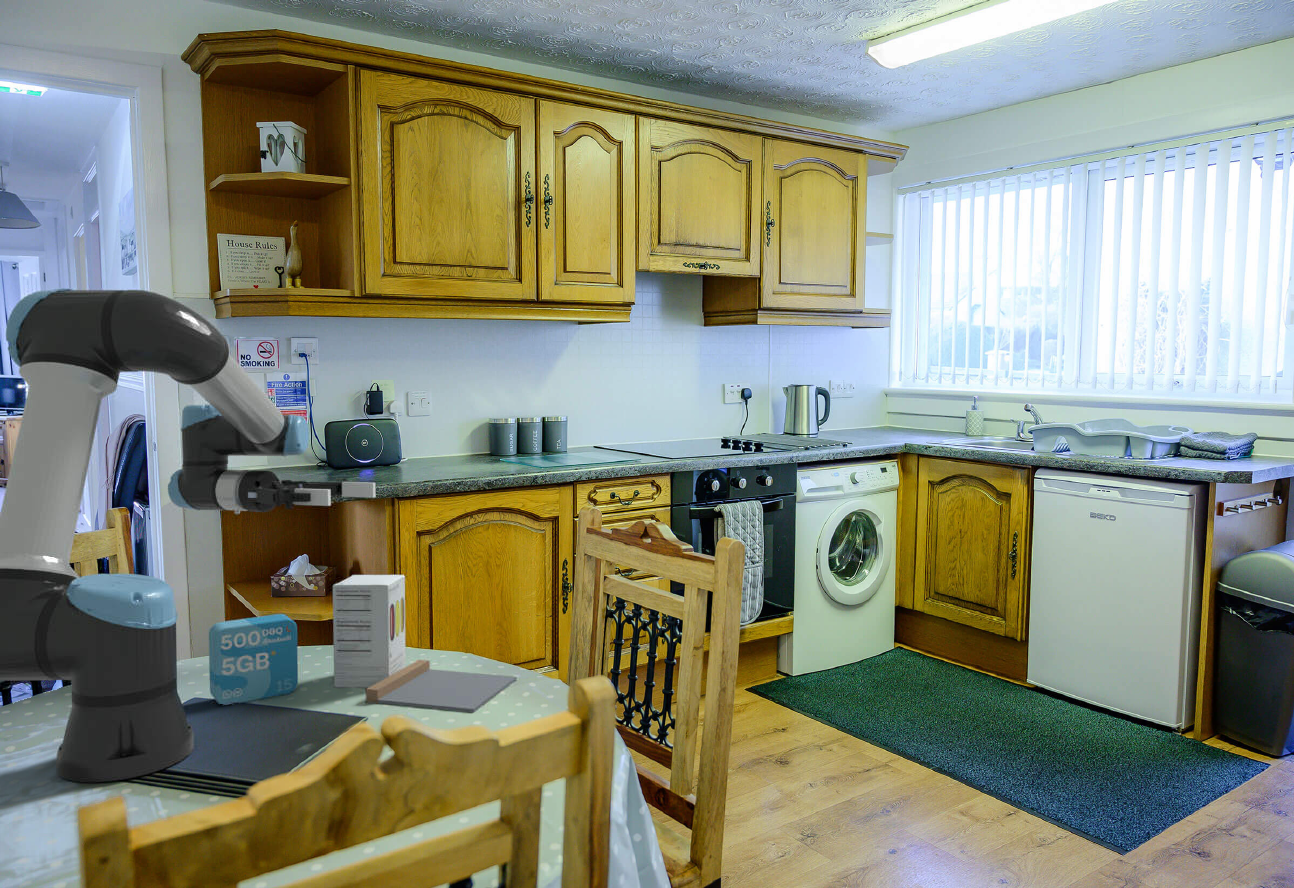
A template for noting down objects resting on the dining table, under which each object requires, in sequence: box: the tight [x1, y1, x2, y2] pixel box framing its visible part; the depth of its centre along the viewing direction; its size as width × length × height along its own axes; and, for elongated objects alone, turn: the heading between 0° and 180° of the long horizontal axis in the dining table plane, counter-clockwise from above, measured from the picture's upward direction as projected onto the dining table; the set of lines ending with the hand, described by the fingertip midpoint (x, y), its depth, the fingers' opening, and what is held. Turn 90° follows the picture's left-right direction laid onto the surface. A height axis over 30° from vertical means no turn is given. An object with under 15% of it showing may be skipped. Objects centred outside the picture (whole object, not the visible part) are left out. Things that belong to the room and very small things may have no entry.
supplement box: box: [332, 574, 407, 689], centre depth 145 cm, size 10×9×17 cm
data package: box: [208, 613, 299, 705], centre depth 137 cm, size 12×4×12 cm, turn 127°
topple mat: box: [365, 659, 517, 713], centre depth 140 cm, size 18×16×2 cm
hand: (353, 493), depth 154 cm, fingers open, 13 cm apart
